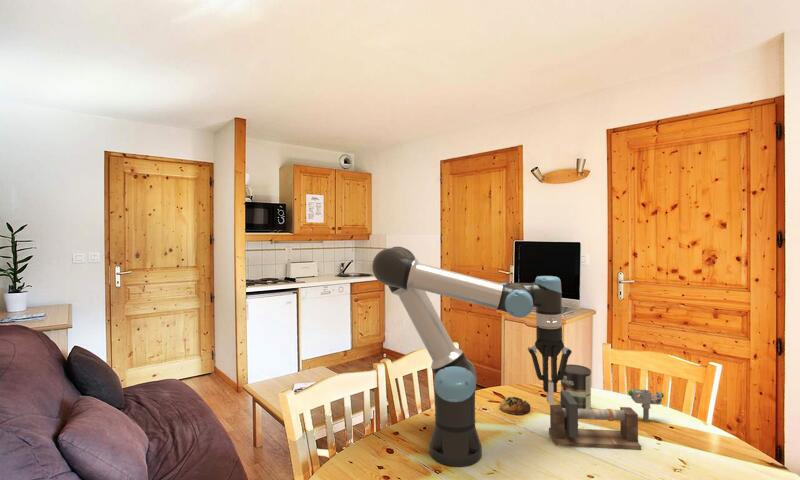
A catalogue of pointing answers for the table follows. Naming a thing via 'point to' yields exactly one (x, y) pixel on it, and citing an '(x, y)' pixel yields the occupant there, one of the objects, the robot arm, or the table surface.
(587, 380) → the coffee can
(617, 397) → the table surface
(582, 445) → the pipe rig
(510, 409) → the bread roll
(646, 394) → the mechanical component
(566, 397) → the dark grey square plate
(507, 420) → the table surface
